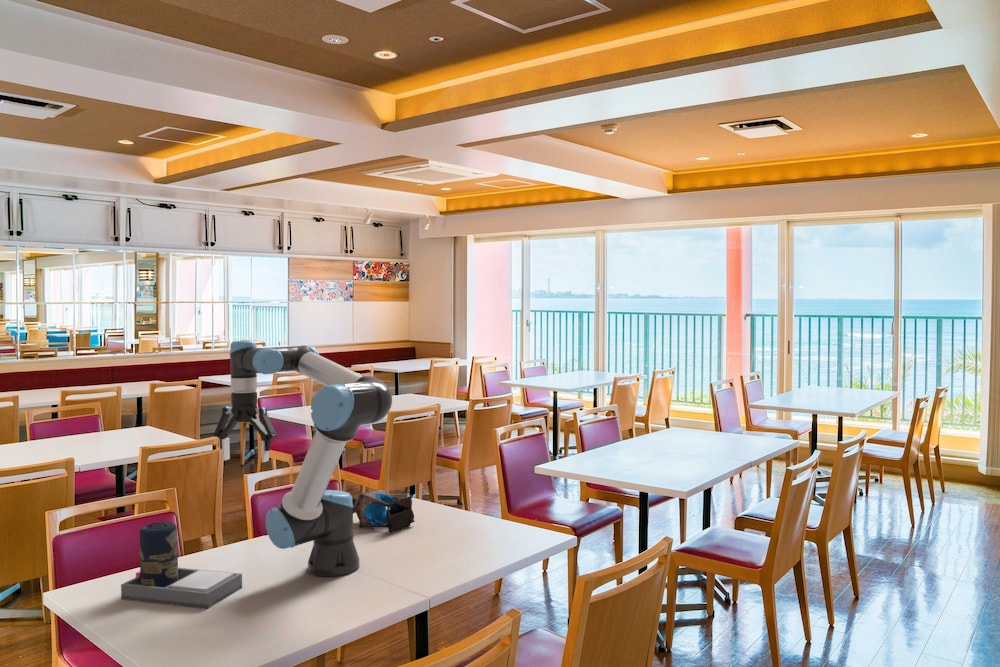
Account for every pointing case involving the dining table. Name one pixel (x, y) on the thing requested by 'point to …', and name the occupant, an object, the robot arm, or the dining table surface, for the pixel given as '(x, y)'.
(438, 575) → the dining table surface
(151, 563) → the canister
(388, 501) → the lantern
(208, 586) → the grey divided tray
